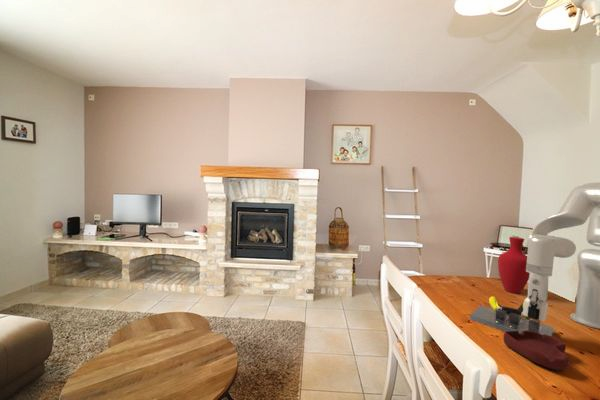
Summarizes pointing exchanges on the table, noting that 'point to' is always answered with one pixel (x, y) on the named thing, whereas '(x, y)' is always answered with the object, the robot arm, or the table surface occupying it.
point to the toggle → (534, 325)
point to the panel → (506, 320)
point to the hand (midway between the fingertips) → (534, 315)
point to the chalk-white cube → (541, 306)
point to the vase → (513, 267)
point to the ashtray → (539, 348)
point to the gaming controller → (507, 308)
